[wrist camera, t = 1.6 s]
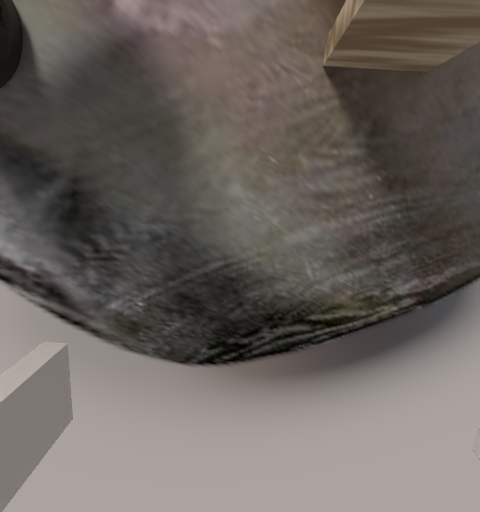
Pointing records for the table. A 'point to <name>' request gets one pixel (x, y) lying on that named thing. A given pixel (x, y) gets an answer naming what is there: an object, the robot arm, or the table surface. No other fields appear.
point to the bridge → (401, 33)
